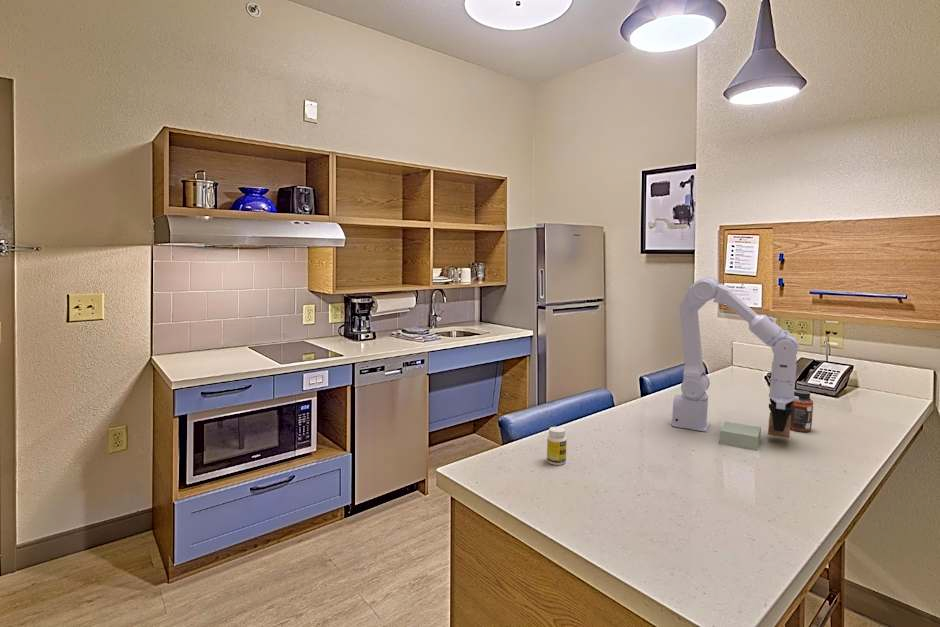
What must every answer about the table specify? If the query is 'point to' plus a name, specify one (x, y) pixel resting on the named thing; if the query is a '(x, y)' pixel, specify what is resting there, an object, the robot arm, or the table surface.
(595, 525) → the table surface
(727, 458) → the table surface
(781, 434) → the walnut cube
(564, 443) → the supplement bottle
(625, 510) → the table surface
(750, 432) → the sage block
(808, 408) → the supplement bottle
